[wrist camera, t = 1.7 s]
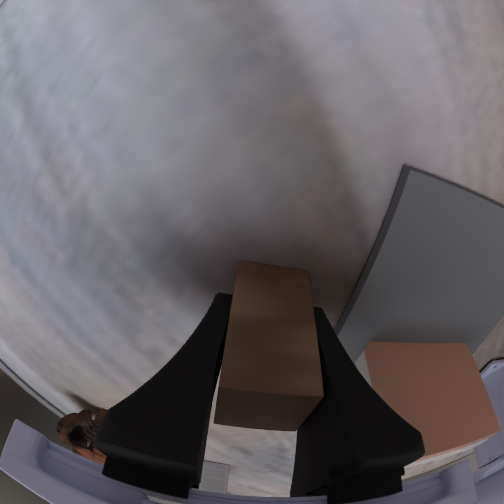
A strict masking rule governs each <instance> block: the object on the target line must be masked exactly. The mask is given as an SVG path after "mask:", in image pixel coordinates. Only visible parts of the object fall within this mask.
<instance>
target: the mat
mask: <svg viewBox="0 0 504 504" xmlns="http://www.w3.org/2000/svg"><path fill="white" fill-rule="evenodd" d="M503 315H504V206H502V205H500V204H498V203H496V202H494V201H492V200H490V199H488V198H485V197H483V196H481V195H479V194H477V193H475V192H472V191H470V190H468V189H466V188H463V187H461V186H459V185H456V184H454V183H451V182H449V181H446V180H444V179H441V178H439V177H436V176H434V175H431V174H428V173H426V172H423V171H420V170H417V169H415V168H412V167H409V166H406V165H404V166H403V169H402V172H401V175H400V178H399V181H398V184H397V187H396V190H395V193H394V196H393V199H392V201H391V204H390V207H389V210H388V212H387V215H386V218H385V220H384V223H383V225H382V228H381V230H380V233H379V235H378V238H377V240H376V243H375V245H374V248H373V250H372V252H371V255H370V257H369V259H368V262H367V264H366V266H365V268H364V271H363V273H362V275H361V277H360V279H359V282H358V284H357V286H356V288H355V290H354V292H353V294H352V296H351V299H350V301H349V303H348V305H347V307H346V309H345V311H344V313H343V315H342V317H341V319H340V321H339V323H338V325H337V326H336V328H335V330H334V332H335V333H336V335H337V337H338V339H339V340H340V342H341V344H342V345H343V347H344V349H345V350H346V352H347V354H348V355H349V357H350V358H351V360H352V361H353V363H354V364H355V362H356V361H357V359H358V358H359V356H360V355H361V353H362V352H363V350H364V349H365V347H366V346H367V345H368V343H369V342H370V341H375V342H398V343H466V344H467V346H468V348H469V350H470V353H471V355H472V354H473V353H474V351H475V350H476V349H477V348H478V347H479V346H480V344H481V343H482V342H483V341H484V340H485V338H486V337H487V336H488V335H489V333H490V332H491V331H492V329H493V328H494V327H495V326H496V324H497V323H498V322H499V320H500V319H501V317H502V316H503ZM355 366H356V364H355Z"/></svg>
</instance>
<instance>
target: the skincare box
mask: <svg viewBox="0 0 504 504" xmlns="http://www.w3.org/2000/svg"><path fill="white" fill-rule="evenodd" d="M228 474H229V465H226V464H220V463H214V462H208V461H204V462H203V469H202V477H201V483H199V489H195V488H193V489H194V490H200V491H206V492H213V493H221V494H227V485H228Z"/></svg>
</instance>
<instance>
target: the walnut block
mask: <svg viewBox="0 0 504 504" xmlns="http://www.w3.org/2000/svg"><path fill="white" fill-rule="evenodd" d="M323 397H324V393H323V383H322V374H321V365H320V356H319V348H318V340H317V332H316V325H315V317H314V310H313V303H312V296H311V290H310V283H309V277H308V271H303V270H297V269H290V268H284V267H278V266H271V265H265V264H259V263H252V262H246V261H240V260H239V261H238V267H237V273H236V280H235V286H234V292H233V298H232V304H231V310H230V317H229V323H228V329H227V335H226V342H225V348H224V355H223V361H222V367H221V374H220V381H219V387H218V395H217V402H216V410H215V417H214V424H220V425H227V426H235V427H243V428H253V429H264V430H278V431H296V430H297V429H298V428H299V427H300V425H301V424H302V423H303V422H304V421H305V419H306V418H307V417H308V416H309V415H310V413H311V412H312V411H313V410H314V408H315V407H316V406H317V405H318V403H319V402H320V401H321V399H322V398H323Z"/></svg>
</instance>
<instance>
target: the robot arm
mask: <svg viewBox="0 0 504 504" xmlns="http://www.w3.org/2000/svg"><path fill="white" fill-rule="evenodd" d="M232 298H233V295H230V294H224V293H217V294H216V295H215V297H214V300H213V302H212V304H211V306H210V308H209V309H208V311H207V313H206V315H205V316H204V318H203V319H202V321H201V322H200V324H199V325H198V327H197V328H196V330H195V331H194V332H193V334H192V335H191V336H190V337H189V339H188V340H187V341H186V343H185V344H184V345H183V346H182V347H181V349H180V350H179V351H178V352H177V353H176V354H175V355H174V357H173V358H172V359H171V360H170V361H169V362H168V363H167V364H166V365H165V366H164V367H163V368H162V369H161V370H160V371H159V372H158V373H156V374H155V375H154V376H153V377H152V378H151V379H150V380H149V381H147V382H146V383H145V384H144V385H142V386H141V387H140V388H139V389H137V390H136V391H135V392H134V393H132V394H131V395H129V396H128V397H127V398H125V399H124V400H122V401H121V402H119V403H118V404H116V405H115V406H113V407H111V408H110V409H109V410H108V411H107V413H106V414H105V416H104V418H103V420H102V421H101V423H100V425H99V428H98V431H97V434H96V437H95V440H94V445H95V446H96V447H97V449H99V450H100V451H101V452H102V453H103V454H104V455H105V456H106V459H105V463H104V465H103V464H100V463H97V462H95V461H92V460H90V459H87V458H85V457H83V456H80V455H78V454H76V453H74V452H71V451H69V450H67V449H65V448H62V447H61V446H59V445H57V444H55V443H52V442H50V441H49V440H48V439H47V438H46V437H45V436H43V435H42V434H41V433H39V432H38V431H36V430H34V429H33V428H31V427H29V426H27V425H26V424H24V423H22V422H21V421H19V420H17V419H16V420H15V421H14V424H13V426H12V428H11V431H10V433H9V436H8V438H7V441H6V444H5V447H4V449H3V452H2V455H1V458H0V469H1V470H2V471H4V472H5V473H6V474H8V475H9V476H11V477H12V478H13V479H15V480H16V481H18V482H19V483H21V484H22V485H23V486H25V487H26V488H28V489H30V490H31V491H33V492H34V493H35V494H37V495H39V496H40V497H42V498H43V499H45V500H47V501H48V502H50V503H51V504H161V503H158V502H154V501H150V500H149V498H148V497H147V496H146V495H148V496H152V497H155V498H159V499H163V500H168V501H172V502H177V503H181V504H504V359H503V360H496V361H492V362H491V363H489V364H488V365H487V366H486V367H485V368H484V370H483V371H482V372H481V373H480V375H481V378H482V380H483V383H484V385H485V388H486V390H487V393H488V395H489V398H490V401H491V403H492V406H493V409H494V412H495V415H496V418H497V421H498V424H499V427H500V431H499V432H497V433H496V434H495V435H493V436H492V437H490V438H489V439H487V440H486V441H484V442H483V443H481V444H480V445H478V446H476V447H473V448H474V452H475V455H476V460H477V465H478V469H479V468H482V467H484V466H485V467H484V468H482V469H480V470H478V471H476V472H474V473H472V468H471V463H470V460H469V459H468V460H466V461H463V462H460V463H458V464H455V465H453V466H451V467H448V468H446V469H445V470H442V471H441V472H439V473H436V474H433V475H430V476H427V477H424V478H420V479H416V480H413V481H409V482H405V483H402V480H401V476H402V475H404V474H405V471H404V467H405V466H407V465H409V464H411V463H413V462H414V461H416V460H418V459H420V458H421V457H422V456H423V455H424V454H425V447H424V443H423V438H422V434H421V432H420V431H418V430H417V429H416V428H414V427H413V426H412V425H410V424H409V423H408V422H407V421H405V420H404V419H403V418H402V417H401V416H399V415H398V414H397V413H396V412H395V411H394V410H393V409H392V408H391V407H390V406H389V405H388V404H387V403H386V402H385V401H384V400H383V399H382V398H381V397H380V396H379V395H378V394H377V393H376V392H375V390H374V389H373V388H372V387H371V386H370V385H369V383H368V382H367V381H366V380H365V378H364V377H363V376H362V374H361V373H360V372H359V370H358V369H357V367H356V366H355V364H354V363H353V361H352V360H351V358H350V357H349V355H348V354H347V352H346V350H345V349H344V347H343V345H342V344H341V342H340V340H339V339H338V337H337V335H336V333H335V332H334V330H333V328H332V326H331V324H330V322H329V320H328V319H327V317H326V315H325V313H324V311H323V309H322V308H321V307H313V310H314V317H315V325H316V332H317V340H318V348H319V356H320V365H321V374H322V383H323V393H324V397H323V398H322V399H321V401H320V402H319V403H318V405H317V406H316V407H315V408H314V410H313V411H312V412H311V413H310V415H309V416H308V417H307V418H306V419H305V421H304V422H303V423H302V424H301V425H300V427H299V428H298V429H297V443H296V454H295V463H294V471H293V478H292V485H291V490H290V497H255V496H240V495H230V494H221V493H213V492H206V491H200V490H194V489H192V488H195V489H199V483H201V477H202V469H203V462H204V455H205V447H206V440H207V434H208V427H209V420H210V413H211V407H212V401H213V396H214V392H215V388H216V384H217V380H218V377H219V373H220V369H221V365H222V361H223V355H224V348H225V342H226V335H227V329H228V323H229V317H230V310H231V304H232ZM493 461H494V462H493ZM486 465H487V466H486ZM473 475H474V477H473Z"/></svg>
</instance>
